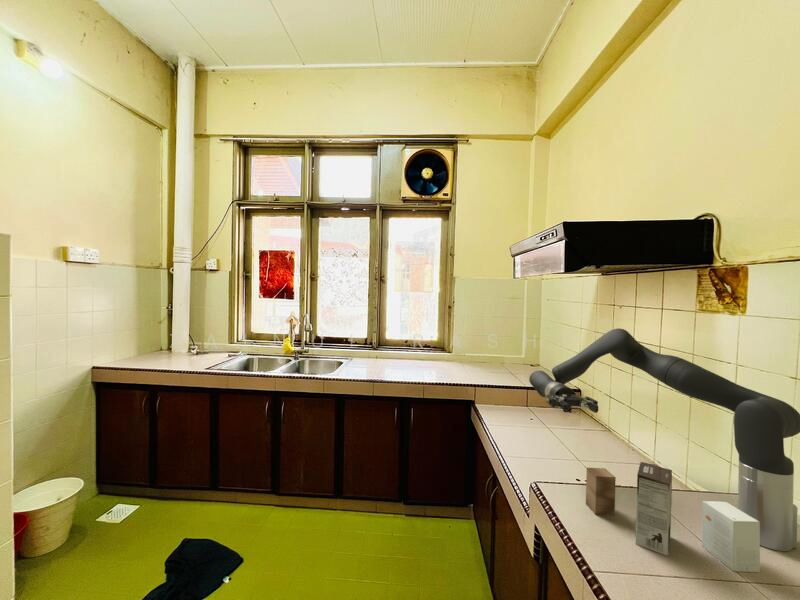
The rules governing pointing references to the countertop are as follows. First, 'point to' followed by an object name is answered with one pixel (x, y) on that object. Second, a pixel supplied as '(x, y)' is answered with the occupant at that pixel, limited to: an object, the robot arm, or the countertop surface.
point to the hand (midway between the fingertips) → (582, 408)
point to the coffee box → (654, 507)
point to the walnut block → (600, 491)
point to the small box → (731, 536)
